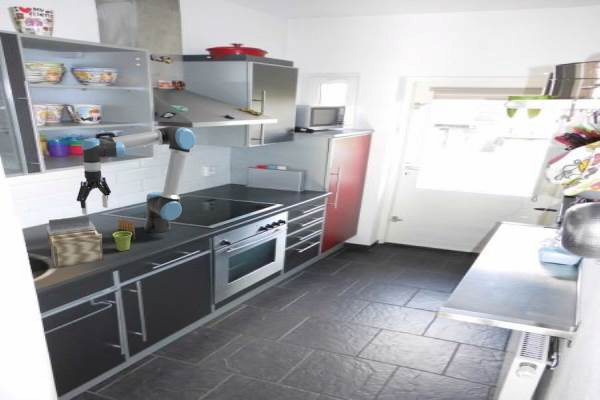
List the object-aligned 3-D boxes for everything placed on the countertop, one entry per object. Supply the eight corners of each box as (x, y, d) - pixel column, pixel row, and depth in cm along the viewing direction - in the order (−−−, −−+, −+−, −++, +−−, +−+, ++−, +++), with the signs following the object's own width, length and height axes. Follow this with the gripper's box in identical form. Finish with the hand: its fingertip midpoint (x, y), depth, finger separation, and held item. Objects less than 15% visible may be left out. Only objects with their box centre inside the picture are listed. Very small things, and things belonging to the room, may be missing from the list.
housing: (92, 241, 218) (90, 218, 215) (103, 259, 197) (101, 234, 194) (48, 248, 206) (46, 223, 203) (55, 268, 185) (53, 241, 182)
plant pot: (114, 246, 214) (113, 231, 212) (132, 245, 218) (132, 230, 216) (112, 253, 206) (112, 237, 204) (132, 251, 209) (131, 236, 207)
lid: (90, 222, 215) (90, 215, 214) (95, 229, 206) (95, 222, 205) (46, 227, 203) (46, 220, 202) (49, 235, 194) (48, 227, 193)
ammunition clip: (118, 237, 228) (117, 217, 225) (120, 236, 230) (119, 216, 227) (133, 240, 226) (133, 220, 222) (135, 239, 227) (135, 219, 224)
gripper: (105, 165, 211) (107, 203, 217) (65, 173, 188) (69, 215, 193) (116, 167, 209) (118, 205, 215) (78, 175, 186) (82, 218, 191)
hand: (95, 210), depth 204 cm, fingers open, 13 cm apart
